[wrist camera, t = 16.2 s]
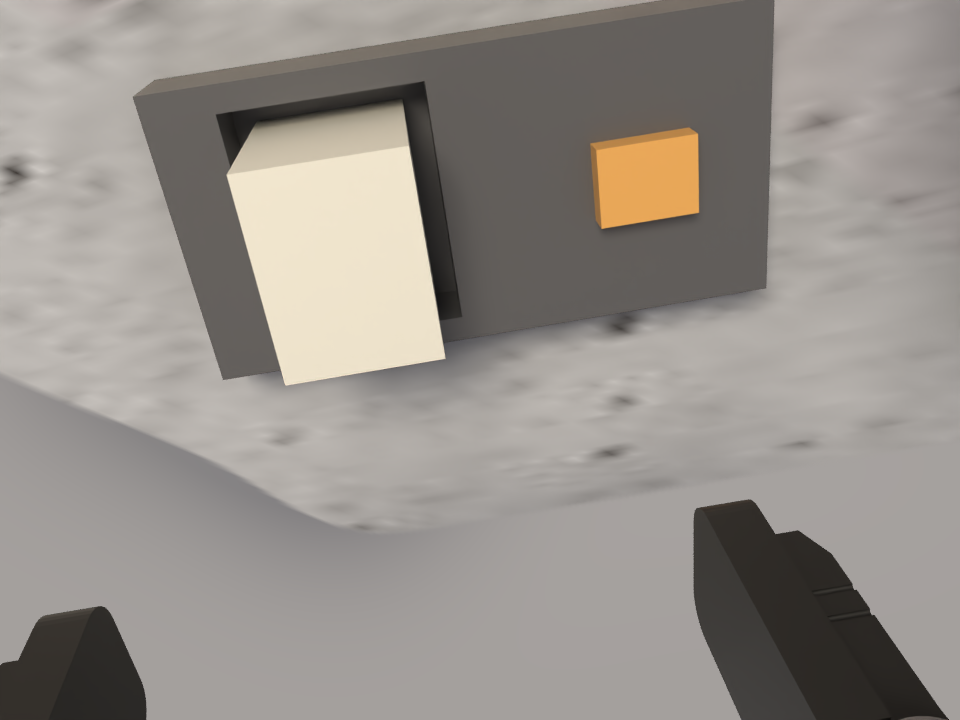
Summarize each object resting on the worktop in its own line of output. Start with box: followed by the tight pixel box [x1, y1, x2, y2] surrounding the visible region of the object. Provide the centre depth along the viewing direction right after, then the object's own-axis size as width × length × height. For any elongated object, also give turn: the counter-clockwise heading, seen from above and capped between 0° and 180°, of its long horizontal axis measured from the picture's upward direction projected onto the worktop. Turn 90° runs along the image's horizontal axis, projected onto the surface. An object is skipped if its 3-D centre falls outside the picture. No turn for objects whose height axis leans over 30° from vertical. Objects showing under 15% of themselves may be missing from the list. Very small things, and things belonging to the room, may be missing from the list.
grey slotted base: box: [133, 0, 774, 380], centre depth 27 cm, size 9×18×3 cm, turn 98°
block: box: [227, 99, 445, 386], centre depth 25 cm, size 6×4×6 cm
